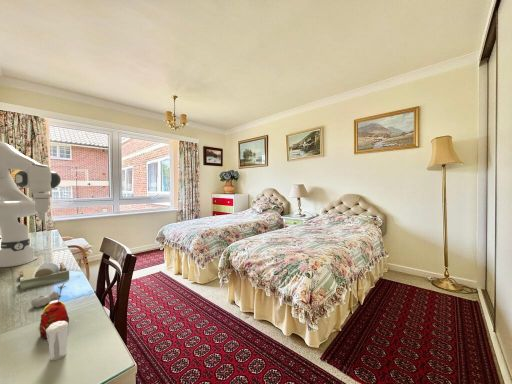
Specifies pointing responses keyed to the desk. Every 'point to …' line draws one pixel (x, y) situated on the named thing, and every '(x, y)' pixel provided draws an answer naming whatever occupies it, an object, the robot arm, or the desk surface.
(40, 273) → the ceramic mug
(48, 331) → the white tooth model
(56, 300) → the watch
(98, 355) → the desk surface
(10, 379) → the desk surface
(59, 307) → the red clay folk toy
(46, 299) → the smooth white sculpture
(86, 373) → the desk surface
